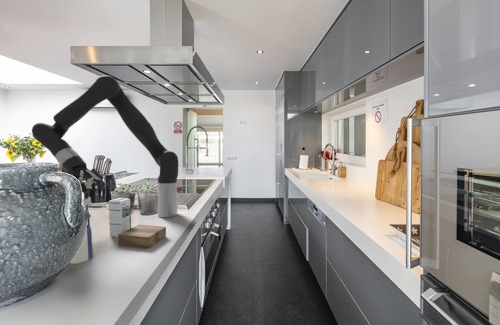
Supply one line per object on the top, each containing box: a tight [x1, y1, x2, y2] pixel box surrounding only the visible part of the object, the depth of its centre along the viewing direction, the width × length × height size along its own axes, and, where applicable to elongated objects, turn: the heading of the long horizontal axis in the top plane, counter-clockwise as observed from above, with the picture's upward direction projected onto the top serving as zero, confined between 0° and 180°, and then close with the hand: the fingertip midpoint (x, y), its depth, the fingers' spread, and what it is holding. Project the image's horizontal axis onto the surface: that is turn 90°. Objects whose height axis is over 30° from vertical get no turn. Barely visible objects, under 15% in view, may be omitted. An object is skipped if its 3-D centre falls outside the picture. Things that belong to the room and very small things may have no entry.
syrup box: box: [108, 197, 132, 238], centre depth 104 cm, size 6×6×14 cm
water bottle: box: [70, 179, 94, 265], centre depth 81 cm, size 8×9×25 cm
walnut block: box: [117, 224, 167, 249], centre depth 97 cm, size 12×12×4 cm
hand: (95, 190), depth 105 cm, fingers open, 8 cm apart
